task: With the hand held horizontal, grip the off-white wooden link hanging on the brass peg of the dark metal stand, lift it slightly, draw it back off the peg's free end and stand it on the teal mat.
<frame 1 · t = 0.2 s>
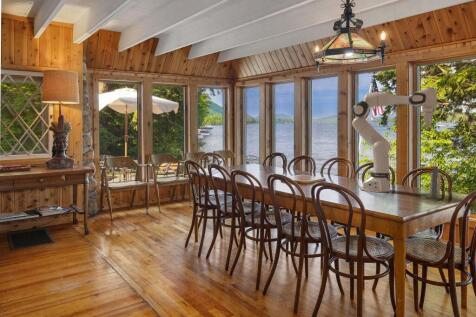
hand: (427, 129, 274), 47 cm above the table, tool pointing down, fingers open, 8 cm apart
stand: (434, 197, 264), on the table
mat: (425, 194, 276), on the table
link: (434, 192, 267), point 3 cm above the table, touching stand
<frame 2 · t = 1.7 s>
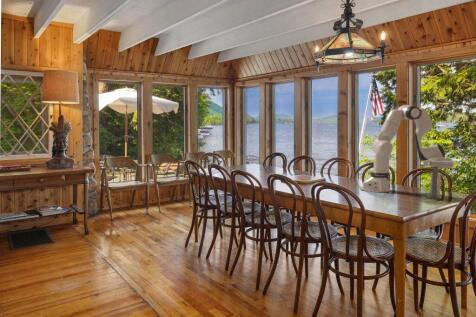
hand: (437, 164, 277), 22 cm above the table, tool horizontal, fingers open, 8 cm apart
nothing on the table moved.
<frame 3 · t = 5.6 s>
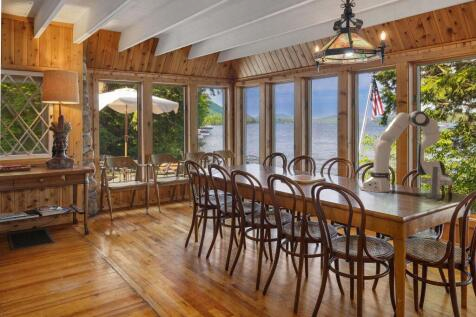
hand: (435, 182, 267), 10 cm above the table, tool horizontal, fingers closed on link, 6 cm apart
link: (434, 192, 267), point 3 cm above the table, touching gripper, stand
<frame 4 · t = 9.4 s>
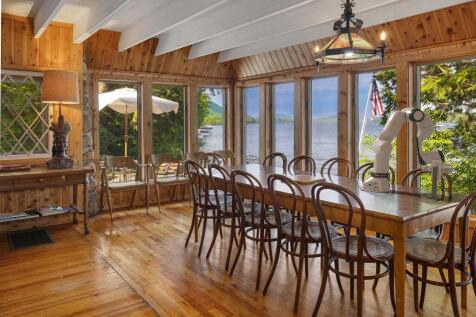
hand: (436, 169, 277), 18 cm above the table, tool horizontal, fingers closed on link, 6 cm apart
link: (435, 179, 278), point 11 cm above the table, touching gripper
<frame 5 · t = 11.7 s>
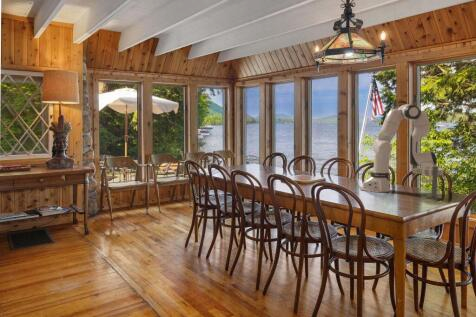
hand: (426, 172, 273), 16 cm above the table, tool horizontal, fingers closed on link, 6 cm apart
link: (426, 182, 274), point 9 cm above the table, touching gripper
when the fingers open (8 cm above the table, at t = 13.5 s): link stays where it is, resting on mat.
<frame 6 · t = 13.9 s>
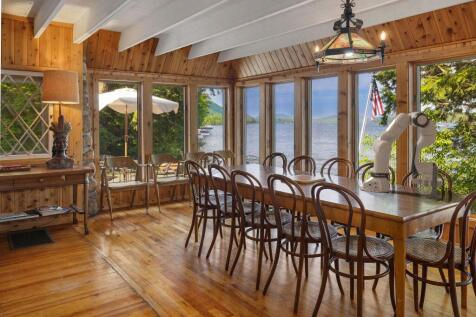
hand: (426, 183, 274), 8 cm above the table, tool horizontal, fingers open, 8 cm apart
link: (425, 194, 275), point 1 cm above the table, touching mat
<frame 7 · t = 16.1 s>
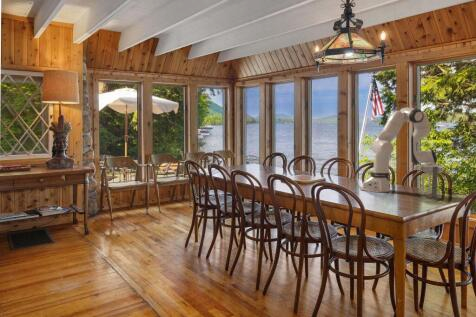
hand: (427, 169, 284), 17 cm above the table, tool horizontal, fingers open, 8 cm apart
nothing on the table moved.
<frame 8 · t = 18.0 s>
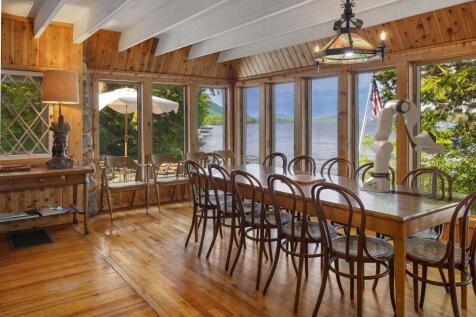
hand: (429, 149, 283), 32 cm above the table, tool horizontal, fingers open, 8 cm apart
nothing on the table moved.
at the end: link 1.0 cm from the mat (horizontally); link point 0.6 cm above the table; link touching mat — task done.
